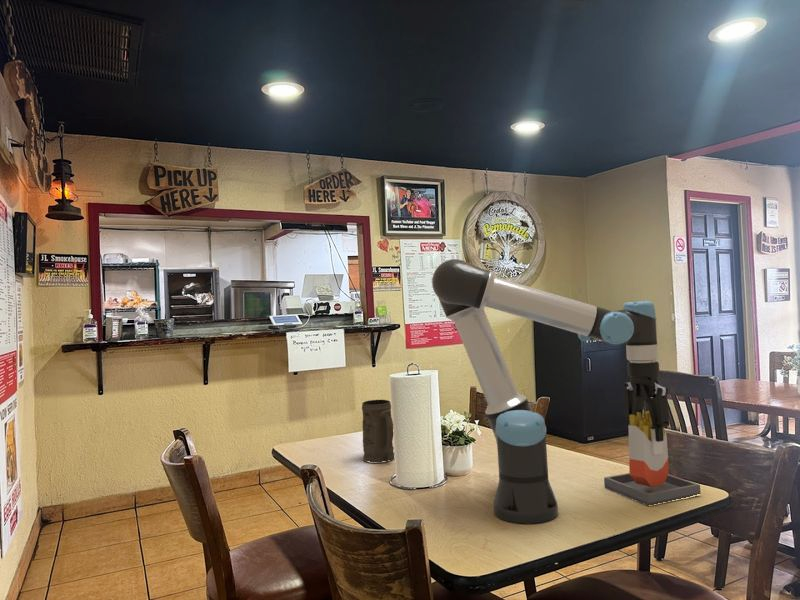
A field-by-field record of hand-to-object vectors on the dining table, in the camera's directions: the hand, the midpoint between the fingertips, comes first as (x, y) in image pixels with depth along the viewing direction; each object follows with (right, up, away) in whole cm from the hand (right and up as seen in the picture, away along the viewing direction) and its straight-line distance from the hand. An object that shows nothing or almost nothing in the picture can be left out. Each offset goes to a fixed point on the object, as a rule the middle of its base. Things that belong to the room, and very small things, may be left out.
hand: (649, 451), depth 146 cm
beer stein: (-70, -15, +45) cm, 84 cm away
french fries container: (0, -8, -1) cm, 8 cm away
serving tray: (0, -11, 0) cm, 10 cm away
